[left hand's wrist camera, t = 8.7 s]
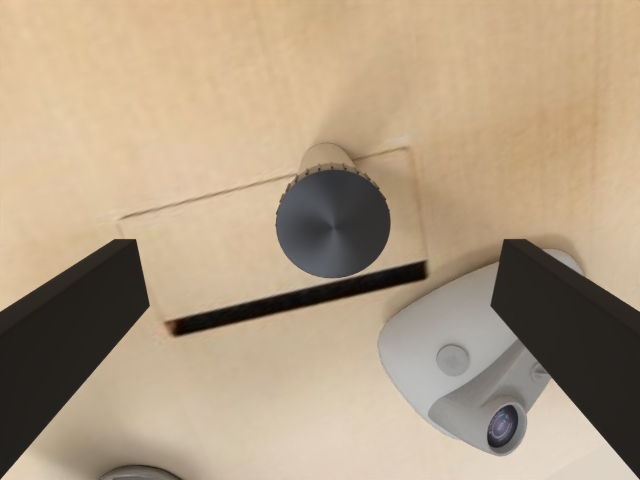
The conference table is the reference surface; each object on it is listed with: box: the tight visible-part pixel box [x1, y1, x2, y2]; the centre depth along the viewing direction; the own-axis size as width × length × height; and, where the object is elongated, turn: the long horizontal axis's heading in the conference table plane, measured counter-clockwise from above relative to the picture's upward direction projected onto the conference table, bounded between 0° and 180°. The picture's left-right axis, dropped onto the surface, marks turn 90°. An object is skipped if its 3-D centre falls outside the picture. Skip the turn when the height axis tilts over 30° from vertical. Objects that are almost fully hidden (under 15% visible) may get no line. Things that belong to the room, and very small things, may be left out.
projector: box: [378, 249, 585, 456], centre depth 35 cm, size 22×23×15 cm
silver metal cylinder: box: [297, 143, 355, 175], centre depth 27 cm, size 5×5×18 cm
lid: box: [276, 162, 390, 278], centre depth 19 cm, size 6×6×2 cm
